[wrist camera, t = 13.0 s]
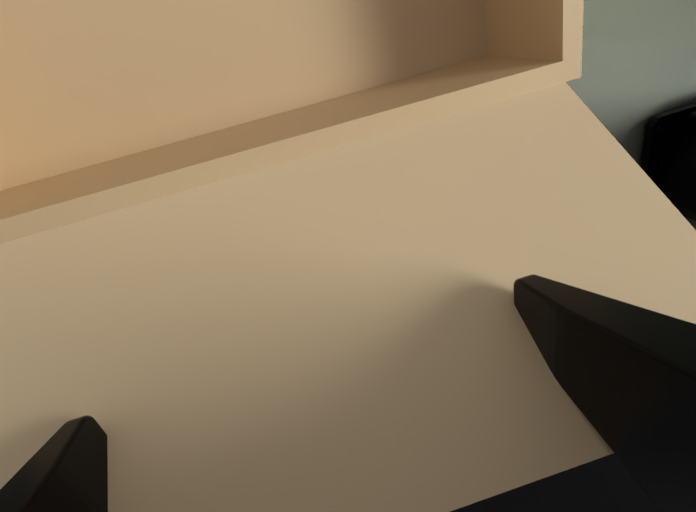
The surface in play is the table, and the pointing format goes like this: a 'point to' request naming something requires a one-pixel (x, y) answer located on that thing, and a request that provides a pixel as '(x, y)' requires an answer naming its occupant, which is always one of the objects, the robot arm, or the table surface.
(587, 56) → the table surface
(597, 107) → the table surface
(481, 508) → the product box
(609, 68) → the table surface
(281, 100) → the carton
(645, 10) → the table surface
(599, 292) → the flap
